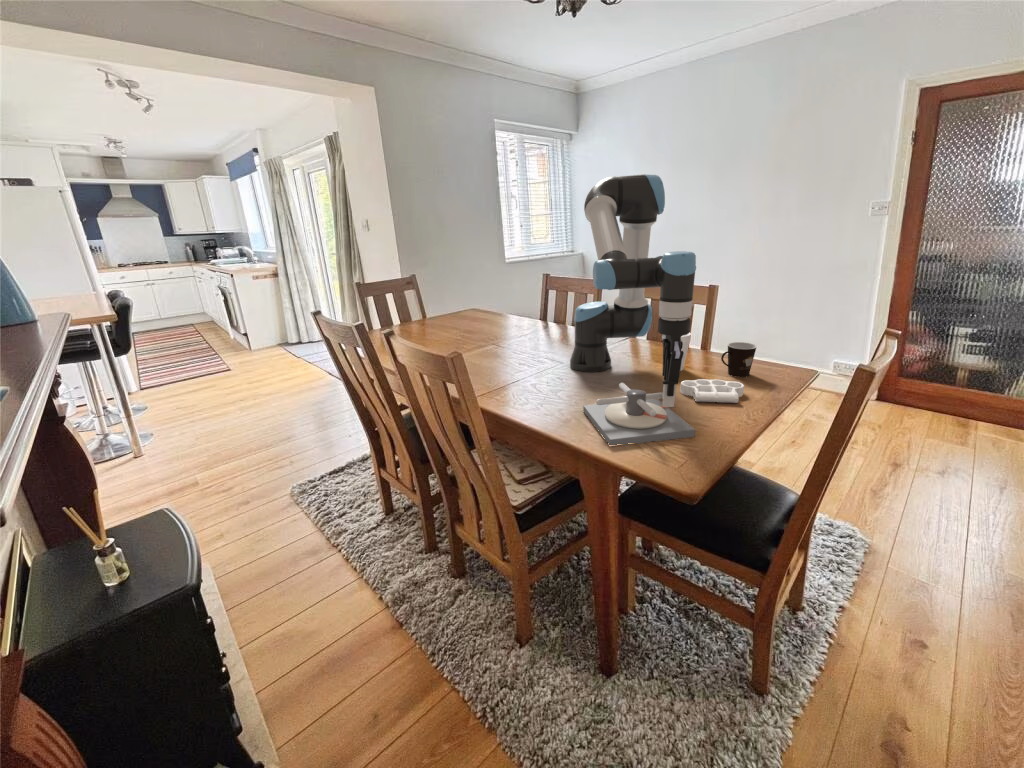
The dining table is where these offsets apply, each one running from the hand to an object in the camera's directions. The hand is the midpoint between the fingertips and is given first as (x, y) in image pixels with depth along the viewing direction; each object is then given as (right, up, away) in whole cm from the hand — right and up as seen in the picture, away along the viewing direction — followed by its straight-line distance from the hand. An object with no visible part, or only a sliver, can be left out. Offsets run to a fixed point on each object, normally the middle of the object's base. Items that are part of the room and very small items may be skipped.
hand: (668, 405), depth 120 cm
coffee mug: (+34, +9, +35) cm, 50 cm away
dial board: (-8, -5, +3) cm, 10 cm away
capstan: (-8, -3, +2) cm, 9 cm away
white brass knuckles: (+20, +2, +19) cm, 28 cm away
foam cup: (+17, +11, +43) cm, 48 cm away
